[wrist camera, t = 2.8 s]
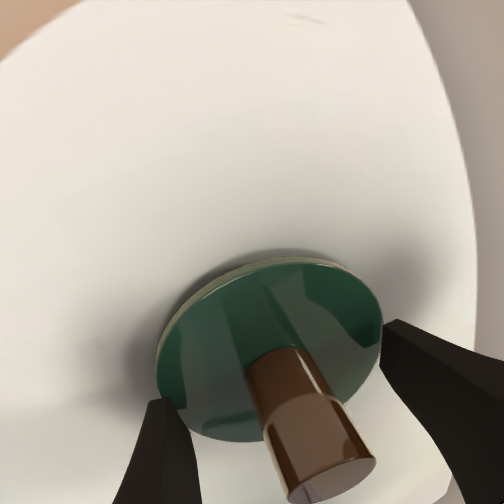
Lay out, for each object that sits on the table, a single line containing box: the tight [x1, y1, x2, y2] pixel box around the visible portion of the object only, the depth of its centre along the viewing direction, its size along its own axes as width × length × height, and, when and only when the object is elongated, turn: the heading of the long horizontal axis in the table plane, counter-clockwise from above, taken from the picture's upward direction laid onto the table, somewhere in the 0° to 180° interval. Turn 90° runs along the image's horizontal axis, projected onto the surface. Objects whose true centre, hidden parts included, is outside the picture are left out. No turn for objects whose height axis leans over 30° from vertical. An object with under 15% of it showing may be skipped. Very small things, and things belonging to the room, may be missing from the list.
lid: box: [155, 256, 384, 504], centre depth 8 cm, size 8×8×6 cm
